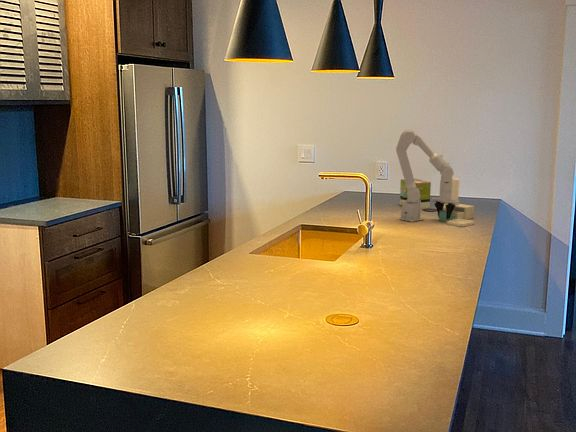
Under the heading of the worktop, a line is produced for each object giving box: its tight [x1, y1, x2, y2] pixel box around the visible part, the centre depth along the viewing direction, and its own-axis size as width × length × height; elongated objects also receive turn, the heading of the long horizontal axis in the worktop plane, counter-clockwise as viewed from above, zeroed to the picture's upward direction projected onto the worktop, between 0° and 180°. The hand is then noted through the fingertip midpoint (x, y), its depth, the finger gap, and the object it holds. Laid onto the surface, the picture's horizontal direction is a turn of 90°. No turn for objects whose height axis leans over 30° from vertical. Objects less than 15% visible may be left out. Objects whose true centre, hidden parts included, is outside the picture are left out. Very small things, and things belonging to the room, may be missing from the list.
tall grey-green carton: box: [438, 208, 454, 223], centre depth 321 cm, size 6×4×5 cm, turn 133°
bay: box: [453, 203, 475, 220], centre depth 327 cm, size 12×10×6 cm
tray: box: [445, 218, 475, 228], centre depth 312 cm, size 11×9×2 cm
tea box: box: [399, 178, 432, 210], centre depth 357 cm, size 15×10×15 cm, turn 25°
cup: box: [443, 177, 460, 209], centre depth 356 cm, size 8×8×16 cm
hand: (444, 218), depth 320 cm, fingers closed on tall grey-green carton, 4 cm apart
